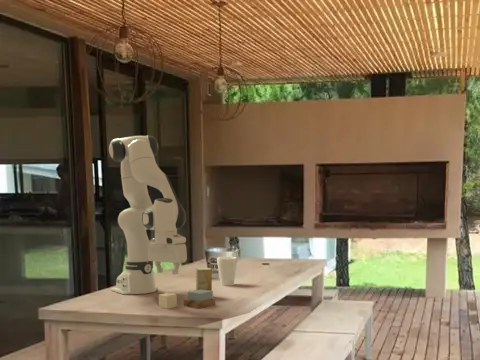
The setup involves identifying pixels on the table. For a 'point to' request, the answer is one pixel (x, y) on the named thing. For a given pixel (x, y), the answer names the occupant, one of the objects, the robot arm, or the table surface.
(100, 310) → the table surface
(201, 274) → the skincare box
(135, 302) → the table surface
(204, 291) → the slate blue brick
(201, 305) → the walnut base brick
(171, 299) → the cream brick
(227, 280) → the foam cup
